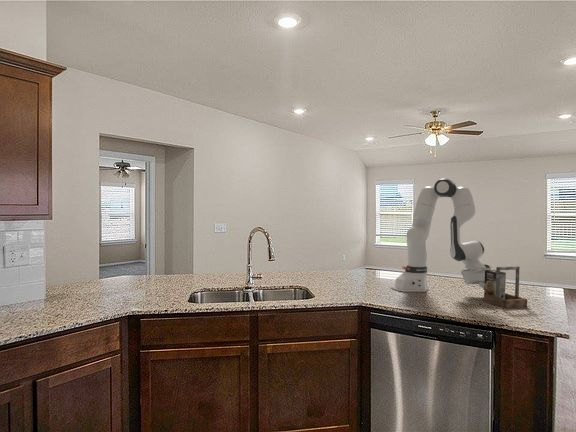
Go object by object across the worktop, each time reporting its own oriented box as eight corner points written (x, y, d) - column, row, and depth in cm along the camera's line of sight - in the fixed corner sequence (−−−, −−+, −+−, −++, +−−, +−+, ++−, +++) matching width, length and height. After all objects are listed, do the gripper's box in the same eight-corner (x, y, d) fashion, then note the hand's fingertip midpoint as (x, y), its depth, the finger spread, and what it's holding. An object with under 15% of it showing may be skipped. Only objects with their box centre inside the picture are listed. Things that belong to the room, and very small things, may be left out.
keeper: (505, 308, 207) (506, 269, 206) (483, 301, 221) (484, 264, 221) (527, 307, 210) (528, 268, 209) (504, 300, 225) (505, 264, 224)
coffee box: (483, 298, 228) (484, 269, 227) (493, 298, 229) (493, 269, 229) (495, 302, 219) (496, 272, 218) (505, 301, 221) (506, 272, 220)
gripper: (462, 266, 233) (474, 287, 224) (492, 265, 238) (505, 285, 229) (457, 273, 238) (468, 293, 228) (487, 271, 243) (498, 291, 234)
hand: (486, 289), depth 229 cm, fingers closed, pressing on coffee box
